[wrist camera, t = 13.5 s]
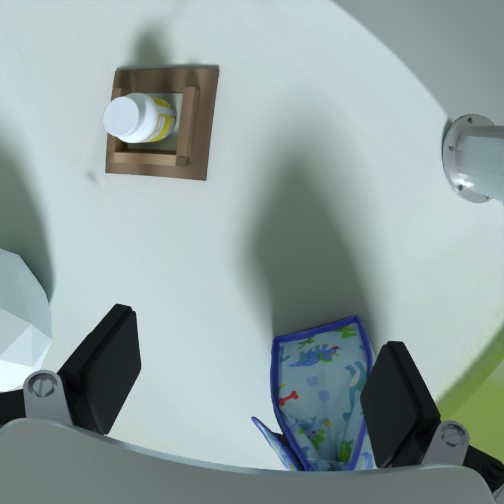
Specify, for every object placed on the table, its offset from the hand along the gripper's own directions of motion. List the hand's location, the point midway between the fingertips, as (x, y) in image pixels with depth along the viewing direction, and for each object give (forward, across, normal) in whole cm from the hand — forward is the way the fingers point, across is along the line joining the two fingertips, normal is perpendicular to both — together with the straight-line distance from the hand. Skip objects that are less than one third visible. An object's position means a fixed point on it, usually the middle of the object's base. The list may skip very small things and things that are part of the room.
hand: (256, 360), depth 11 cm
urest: (+28, +15, -9) cm, 33 cm away
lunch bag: (+29, -13, +26) cm, 41 cm away
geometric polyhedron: (+28, +42, +20) cm, 55 cm away
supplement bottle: (+28, +15, -9) cm, 33 cm away
